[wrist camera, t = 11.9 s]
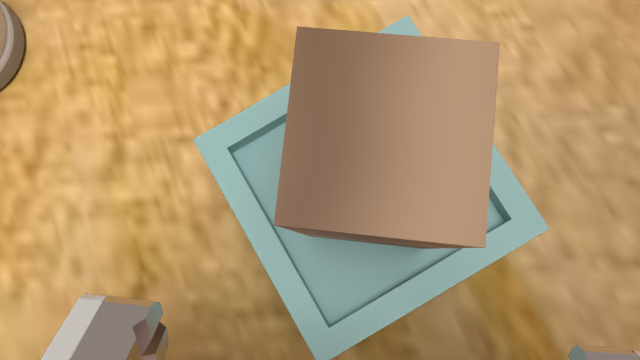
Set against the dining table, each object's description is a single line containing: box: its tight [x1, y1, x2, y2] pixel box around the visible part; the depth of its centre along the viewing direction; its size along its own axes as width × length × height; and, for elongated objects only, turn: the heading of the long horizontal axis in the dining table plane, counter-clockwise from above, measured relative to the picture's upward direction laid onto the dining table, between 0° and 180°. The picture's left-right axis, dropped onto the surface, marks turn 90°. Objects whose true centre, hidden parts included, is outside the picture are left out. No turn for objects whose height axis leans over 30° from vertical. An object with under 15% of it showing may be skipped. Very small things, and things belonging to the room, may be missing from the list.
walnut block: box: [274, 27, 500, 249], centre depth 17 cm, size 4×4×10 cm
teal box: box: [193, 15, 550, 360], centre depth 24 cm, size 10×10×7 cm
